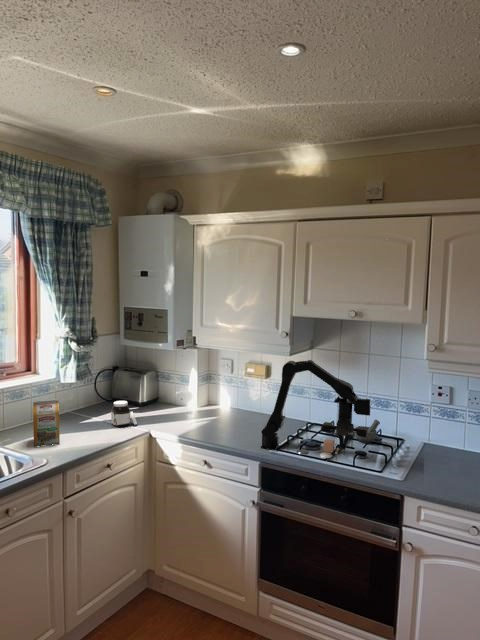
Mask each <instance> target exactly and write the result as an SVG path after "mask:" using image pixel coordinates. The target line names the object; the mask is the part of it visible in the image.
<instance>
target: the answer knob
mask: <svg viewBox="0 0 480 640" xmlns="http://www.w3.org/2000/svg"><path fill="white" fill-rule="evenodd" d="M334 451H335V440H333V439H328V438H327V439H326V438H325V439H324V441H323V452H324V453H334Z"/></svg>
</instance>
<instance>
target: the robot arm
mask: <svg viewBox="0 0 480 640" xmlns="http://www.w3.org/2000/svg"><path fill="white" fill-rule="evenodd" d="M307 371H308V372H310V373H311V374H313V375H314V376H315V377H317V378H319V379H320V380H321V381H323V382H324V383H326V384H327V385H329V386H330V387H331V388H332V389H333V390H334V392H335V393H336V394H337V395H338V396H337V397H336V398H335V399H334V400H333V401H334V403H337V404H338V411H337V412H338V413H337V421H336V425H334V423H333V422H328V421H325V422H323V423H322V425H321V429H320V431H321V432H323V433H329V432H331V431H335V433H334V435H335V436H337V437H338V439H339V442H340V446H341V448H342V450H345V449H346V447H347V444H348V441H349V439H350V438H353V437H354V435H355V434H354V433H357V435H358V436H360V437H367V434H368V428H367V427H368V426H364V427H362V426H361V425H358V426H357V427H358V428H356V427H354V423H353V422H352V421H353V412H354V413H355V415H359V416H369V417H370V416H371V399H370V398H358V396H357V393H355V392H354V387H353V385H352V384H351V383H350V382H348V381H346V380H343V379H340V378H337V377H336V376H334V375H332V374H331V373H330V372H328V371H327V370H326V369H324V368H323V367H321V366H320V365H319V364H317V363H316V362H315V361H314V360H312V359H308V360H301V361H300V360H299V361H294V360H289V361H287V362H286V363H284V364H283V365H282V370H281V384H280V385H279V390H278V394H277V398H276V402H275V405H274V408H273V410H272V413H271V415H270V417H269V419H268V420H267V422H266V425H265V426H264V428H263V429H262V430H260V432H261V446H260V448H261V449H264V450H265V449H266V450H270V451H271V450H272V451H275V450H276V449H277V448H278V446H279V436H278V433H277V432H278V431H279V430H281V429H282V427H283V426H284V421H285V419H286V415H284V414H283V413H284V408H285V404H286V401H287V398H288V394H289V390H290V387H291V384H292V381H293V379H294V378H295V376H296V374H297V373H302V372H303V373H304V372H307Z"/></svg>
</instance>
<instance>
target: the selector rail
mask: <svg viewBox="0 0 480 640" xmlns="http://www.w3.org/2000/svg"><path fill="white" fill-rule="evenodd" d="M301 445H302V443H301V442H298V443H297V444H296V446H295V447H294V448H295V449H297V450H299V447H300V446H301ZM334 451H335V452H334V454H335V455H338V452H339V451H340V448H339V447H337V448H336V449H335V450H334Z"/></svg>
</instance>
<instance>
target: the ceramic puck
mask: <svg viewBox="0 0 480 640" xmlns="http://www.w3.org/2000/svg"><path fill="white" fill-rule="evenodd" d="M319 456H320V457H321V458H325V459H330V458H332V457H333V454H331V453H330V452H321V453H320V454H319Z"/></svg>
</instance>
